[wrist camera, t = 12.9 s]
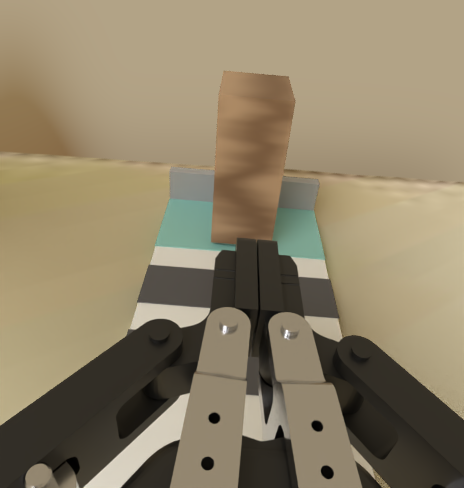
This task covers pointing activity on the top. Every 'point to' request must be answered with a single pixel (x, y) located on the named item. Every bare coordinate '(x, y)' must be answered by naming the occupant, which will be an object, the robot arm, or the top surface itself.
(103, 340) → the top surface
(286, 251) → the track
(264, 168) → the slider block
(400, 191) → the top surface
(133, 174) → the top surface
